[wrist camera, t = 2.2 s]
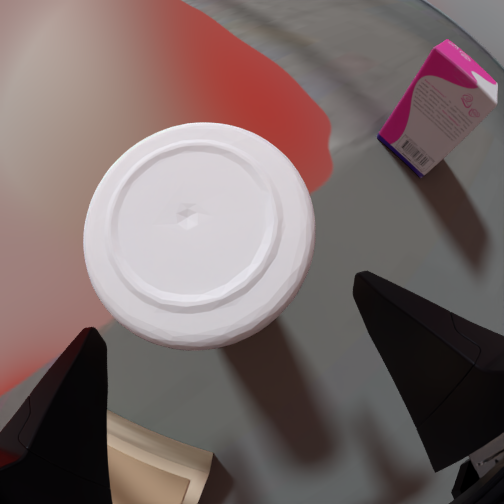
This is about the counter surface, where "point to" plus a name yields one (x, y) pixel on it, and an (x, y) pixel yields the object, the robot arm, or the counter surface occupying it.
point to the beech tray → (153, 466)
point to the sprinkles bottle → (199, 236)
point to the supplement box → (439, 108)
